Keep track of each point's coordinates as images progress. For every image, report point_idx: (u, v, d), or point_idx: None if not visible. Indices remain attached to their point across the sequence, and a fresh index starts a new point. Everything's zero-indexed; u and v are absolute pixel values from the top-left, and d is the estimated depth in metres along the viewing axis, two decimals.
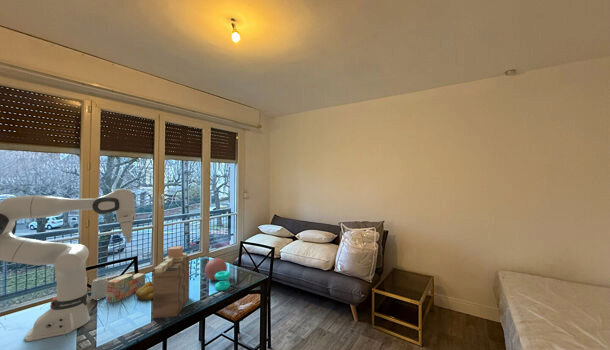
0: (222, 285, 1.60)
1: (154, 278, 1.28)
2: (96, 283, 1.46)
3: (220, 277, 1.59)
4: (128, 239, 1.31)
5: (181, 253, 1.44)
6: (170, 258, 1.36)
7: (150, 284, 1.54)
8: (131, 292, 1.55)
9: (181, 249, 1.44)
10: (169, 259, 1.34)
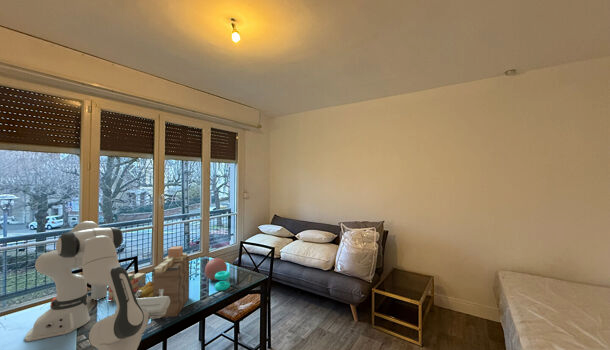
0: (222, 285, 1.60)
1: (154, 278, 1.28)
2: None
3: (220, 277, 1.59)
4: None
5: (181, 253, 1.44)
6: (170, 258, 1.36)
7: (151, 284, 1.54)
8: None
9: (181, 249, 1.44)
10: (169, 259, 1.34)
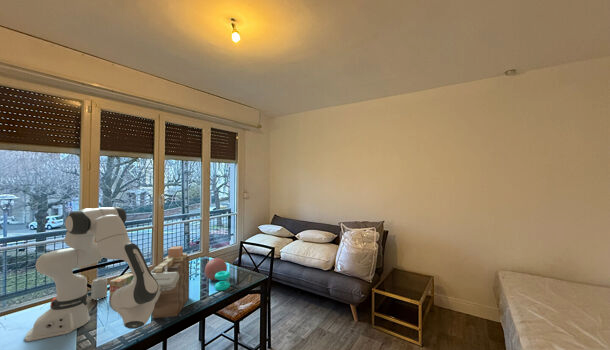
0: (222, 285, 1.60)
1: None
2: (96, 283, 1.46)
3: (220, 277, 1.59)
4: None
5: (181, 253, 1.44)
6: (170, 258, 1.36)
7: None
8: None
9: (181, 249, 1.44)
10: (169, 259, 1.34)
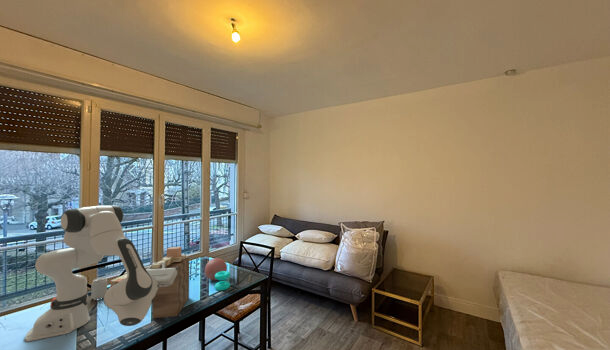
0: (222, 285, 1.60)
1: None
2: (96, 283, 1.46)
3: (220, 277, 1.59)
4: None
5: (179, 254, 1.42)
6: (168, 257, 1.33)
7: None
8: None
9: (180, 250, 1.42)
10: (167, 258, 1.31)
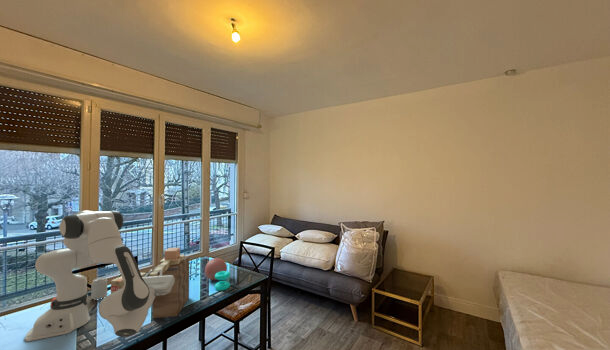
0: (222, 285, 1.60)
1: None
2: (96, 283, 1.46)
3: (220, 277, 1.59)
4: None
5: (178, 255, 1.39)
6: (166, 260, 1.31)
7: None
8: None
9: (178, 251, 1.39)
10: (165, 262, 1.28)
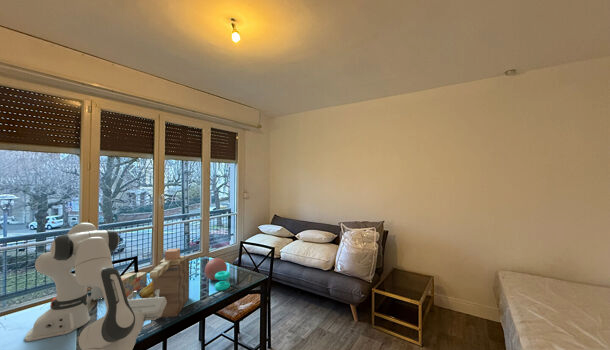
0: (222, 285, 1.60)
1: (154, 278, 1.28)
2: None
3: (220, 277, 1.59)
4: None
5: (178, 256, 1.39)
6: (166, 261, 1.31)
7: None
8: (135, 290, 1.57)
9: (178, 251, 1.39)
10: (165, 262, 1.29)
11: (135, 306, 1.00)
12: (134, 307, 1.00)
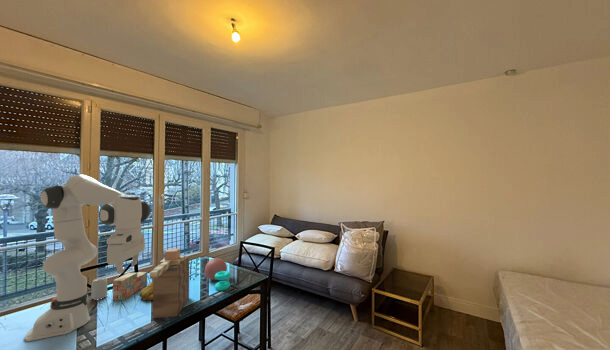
0: (222, 285, 1.60)
1: (154, 278, 1.28)
2: (96, 283, 1.46)
3: (220, 277, 1.59)
4: (119, 268, 0.93)
5: (178, 256, 1.39)
6: (166, 261, 1.31)
7: None
8: (135, 290, 1.58)
9: (178, 251, 1.39)
10: (165, 262, 1.29)
11: None
12: None
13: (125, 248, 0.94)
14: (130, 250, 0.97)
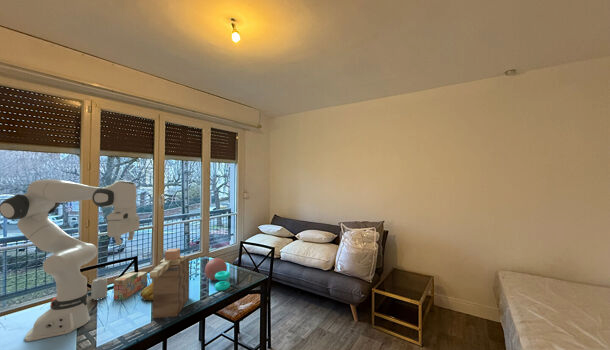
0: (222, 285, 1.60)
1: (154, 278, 1.28)
2: (96, 283, 1.46)
3: (220, 277, 1.59)
4: (117, 241, 1.10)
5: (178, 256, 1.39)
6: (166, 261, 1.31)
7: None
8: (136, 290, 1.58)
9: (178, 251, 1.39)
10: (165, 262, 1.29)
11: None
12: None
13: (122, 224, 1.12)
14: (127, 226, 1.15)
